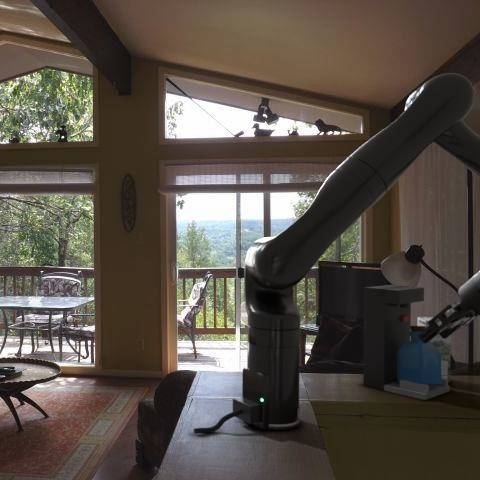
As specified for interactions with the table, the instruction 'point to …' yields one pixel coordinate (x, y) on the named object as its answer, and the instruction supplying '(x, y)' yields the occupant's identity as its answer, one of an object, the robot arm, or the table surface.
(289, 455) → the table surface
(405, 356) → the perfume bottle
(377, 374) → the coffee maker
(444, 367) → the syrup box
